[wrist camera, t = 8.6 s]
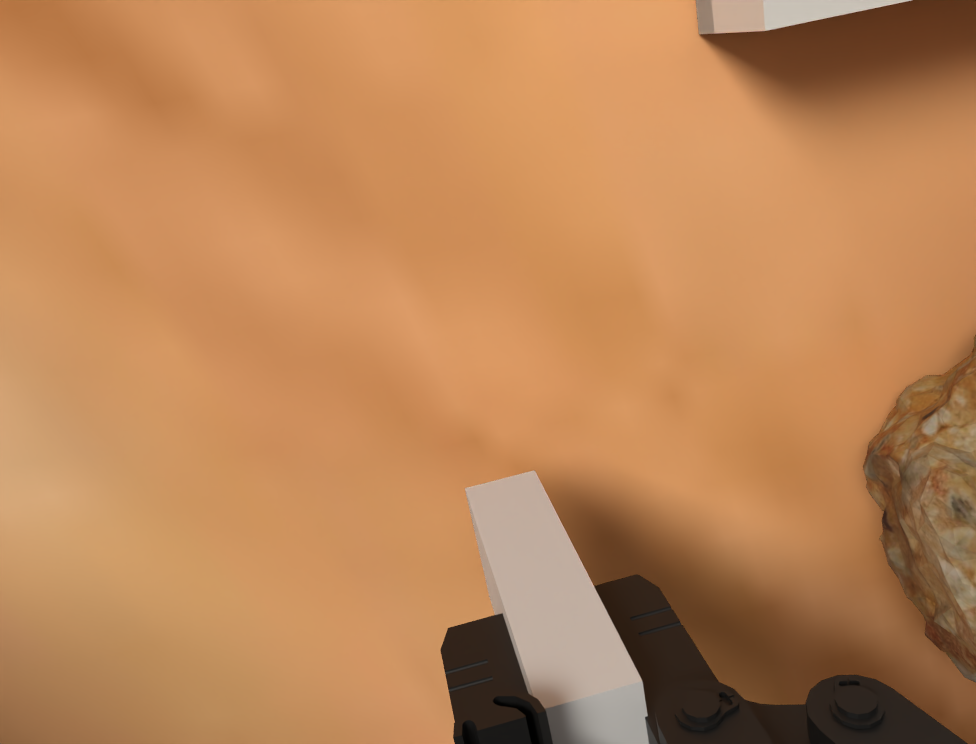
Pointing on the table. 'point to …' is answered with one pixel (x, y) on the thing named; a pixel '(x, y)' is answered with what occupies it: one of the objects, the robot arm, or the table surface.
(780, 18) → the tray
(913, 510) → the rock
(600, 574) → the table surface
